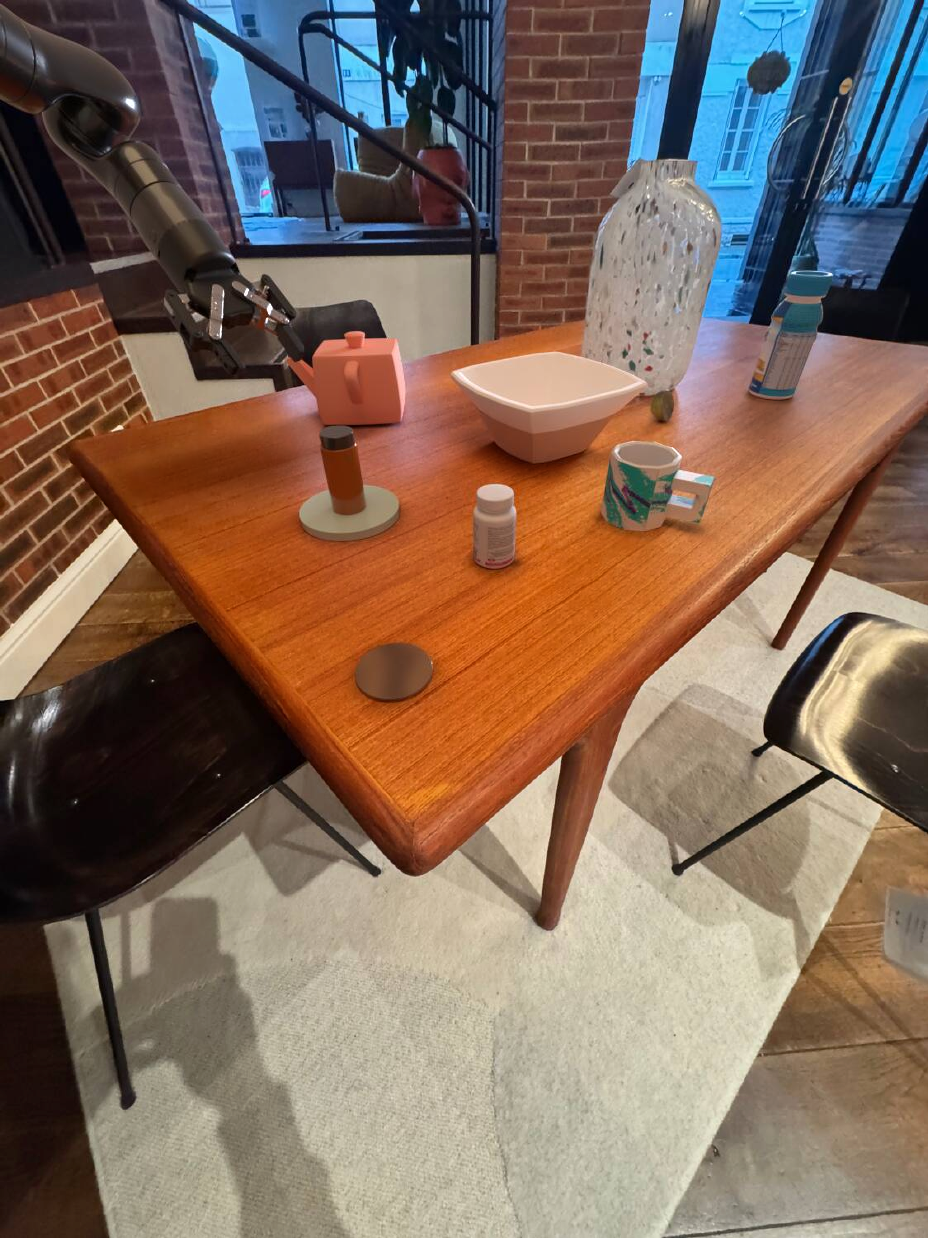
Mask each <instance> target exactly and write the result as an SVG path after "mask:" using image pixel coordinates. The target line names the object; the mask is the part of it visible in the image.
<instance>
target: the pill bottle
mask: <svg viewBox="0 0 928 1238" xmlns="http://www.w3.org/2000/svg"><path fill="white" fill-rule="evenodd" d="M514 495H515V492H514V490H513V489H512V488H511V487H510V486H508V485H505V484H501V483H500V484H499V483H490V484H485V485H483V486H480V487H479V488H478V489H477V490H476V497H475V502H476V506H475V507H474V508H473V512H472V546H473V547H472V549H473V554H472V555H473V560H474V562H475V563H476V564H478V566H481V567H483V568H486V569H495V570H496V569H502V568H505V567H507V566H509V565H511V563H512V562H513V561H514V560H515V552H516V551H515V549H516V548H515V547H516V527H517V509H516V507H515V506H514V503H515V496H514Z"/></svg>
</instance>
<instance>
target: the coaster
mask: <svg viewBox="0 0 928 1238" xmlns="http://www.w3.org/2000/svg"><path fill="white" fill-rule="evenodd" d="M433 673H434V667H433V661H432V659H431V657H430V656H429V654H428V653H427V652H426V651H425V650H423V648H420V647H418V646H416V645H414V644H410V643H406V642H404V643H403V642H392V643H385V644H382V645H379V646H377V647H375V648H372V649H371V650H369V651H368V652H366V653H365V654H364V655H362V657H361V658H360V659H359V661H358V662H357V664H356V666H355V670H354V679H355V683H356V686H357V688H358V690H359V691H360V692H361V693H362V694H364V695H365V696H367V697H368V698H370V699H372V700H375V701H378V702H385V703H394V702H401V701H405V700H408V699H411V698H413V697H415V696H417V695H418V694H420V693H421V692H422V691H424V690H425V688H427V686H428V685H429V684H430V682H431V680H432V678H433Z"/></svg>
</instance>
